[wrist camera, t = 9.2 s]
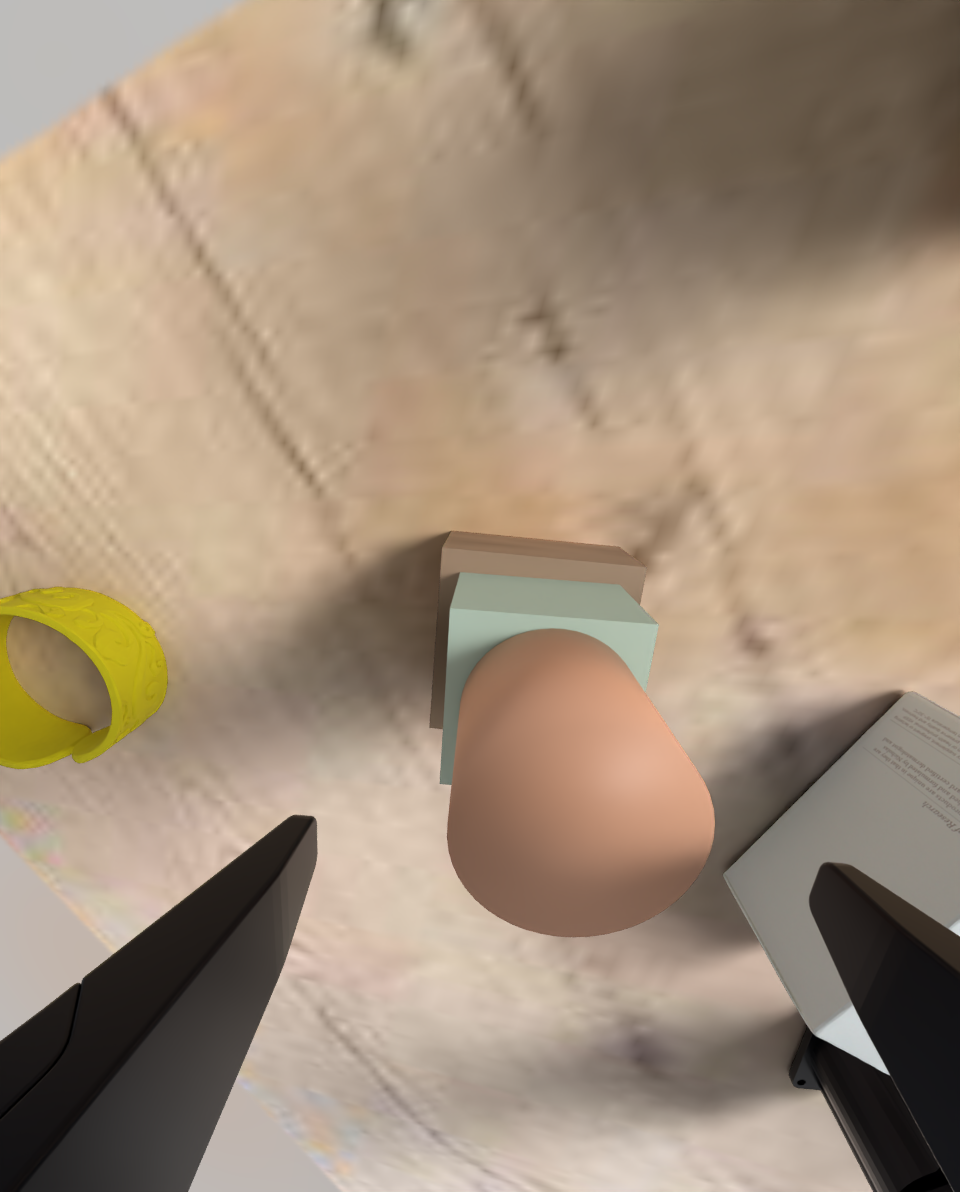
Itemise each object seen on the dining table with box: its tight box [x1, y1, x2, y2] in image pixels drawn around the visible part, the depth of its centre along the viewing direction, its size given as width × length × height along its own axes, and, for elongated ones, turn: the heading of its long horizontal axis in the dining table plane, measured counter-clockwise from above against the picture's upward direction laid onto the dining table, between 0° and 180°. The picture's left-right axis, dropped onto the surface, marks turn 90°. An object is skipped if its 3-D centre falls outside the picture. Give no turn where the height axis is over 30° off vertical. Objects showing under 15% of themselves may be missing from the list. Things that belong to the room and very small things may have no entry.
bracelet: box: [0, 587, 168, 769], centre depth 20 cm, size 7×8×3 cm
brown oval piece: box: [447, 628, 715, 937], centre depth 11 cm, size 5×5×4 cm
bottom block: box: [430, 531, 647, 729], centre depth 19 cm, size 7×7×4 cm
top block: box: [440, 572, 659, 785], centre depth 15 cm, size 6×6×4 cm
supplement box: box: [723, 691, 960, 1075], centre depth 20 cm, size 7×7×13 cm
